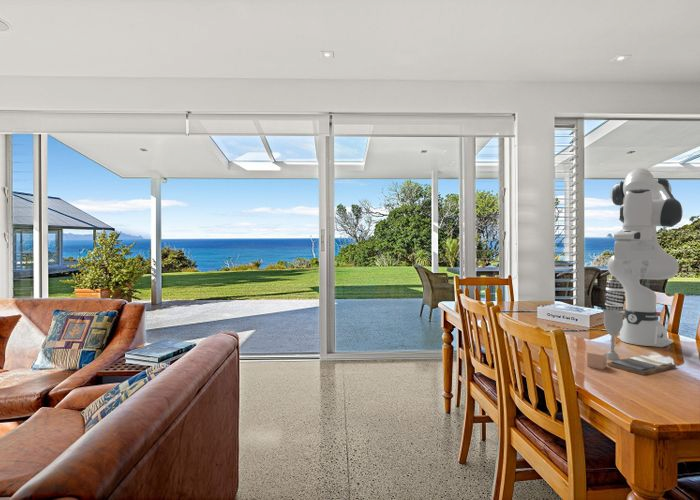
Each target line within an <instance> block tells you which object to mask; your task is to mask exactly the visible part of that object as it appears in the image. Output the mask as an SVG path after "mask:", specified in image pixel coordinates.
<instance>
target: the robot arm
mask: <svg viewBox="0 0 700 500" xmlns="http://www.w3.org/2000/svg"><path fill="white" fill-rule="evenodd" d="M609 195H610V199H611V201H612V203H613V204H614V205H615V206H618V207H619V217H618V218H619V221H620V222H621V223H623V224H622V229H621V230H619V231H617V232H615V233H614V234H613V240H614V245H613V250H614V251H613V255H612V256H611V257H610V258H609V259H608V261H607V263H606V264H607V265H606V266H607V267H606V268H607V271H608V273H610V275H611V276H612V277H614V279H617V280H618V281H619V282H620V283H621V284H622V286H623V288H624V292H625V294H624V295H625V297H624V299H625V309H624V308H623V311H624V312H625V313H624V314H623V315H624V317H623V318H624V320H623V326H622V328H621V330H620V331H619V334H618V335H616V338H617V339H619V340H620V341H621V342H622V343H627V344H631V345H637V346H646V347H658V348H663V347H664V348H665V347H667V346H668V345H669V346H670V344H673V343H674V339H671V338H668V332H667V328H666V326H664V325H663V324H662V323H661V322H660V321H659V317H661V316H662V312H661V311H657V295H656V292H655V291H654V290H652V289H650V288H649V287H647V286H645V285H642V284H641V283H640V280H655V281H656V280H657V281H659V280H669V279H674V277H675V276H677V275H678V272H679V269H680V268H679V267H680V266H679V262H678V261H677V259H676V258H675V257H674V256H673V255H670V254H669V253H667V252H666V250H664V249H663V248H662V246H661V245H660V243H659V241H658V233H657V227H667V228H672V227H674V226H677V224H678V223H680V222H681V221H682V218H683V214H684V213H683V206H682V204H681V202H680V201H679V200H678V199H676V197H674V195H673V194H672V186H671V184H670V182H669V180H668V179H666V178H661V177H660V178H658V177H657V178H655V177H654V175H653V173H652V172H651V171H650V170H648V169H646V168H641V167H639V168H635V169H632V170H631V171H629V172H628V173H627V175H626V177H625V178H624V181H622V180H620V181H619V182H617V183H615V184H614V185H613V186H612V188H611V191H610V193H609Z"/></svg>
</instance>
